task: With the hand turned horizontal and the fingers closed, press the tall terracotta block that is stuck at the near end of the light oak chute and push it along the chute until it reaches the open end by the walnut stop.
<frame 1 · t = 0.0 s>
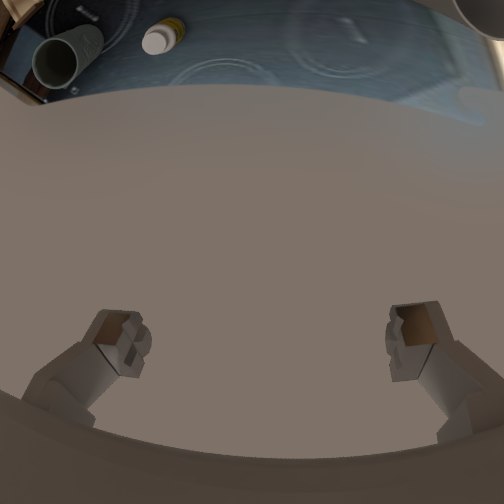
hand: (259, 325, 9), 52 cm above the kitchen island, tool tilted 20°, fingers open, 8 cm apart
supplement bottle: (171, 29, 43), on the kitchen island
green cup: (87, 41, 43), on the kitchen island
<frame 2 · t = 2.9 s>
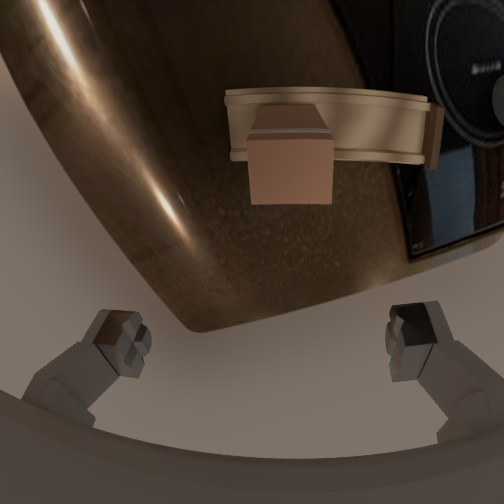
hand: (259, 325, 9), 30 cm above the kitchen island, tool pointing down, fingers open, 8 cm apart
chute: (330, 123, 34), on the kitchen island
block: (289, 143, 27), point 8 cm above the kitchen island, slide at 0.0 cm
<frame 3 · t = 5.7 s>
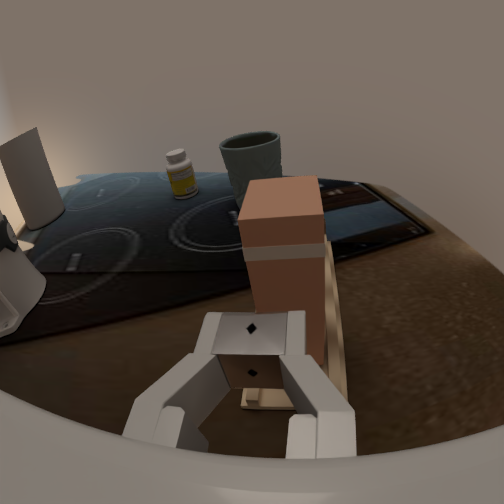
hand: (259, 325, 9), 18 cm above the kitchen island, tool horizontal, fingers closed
chute: (297, 309, 33), on the kitchen island
supplement bottle: (186, 195, 65), on the kitchen island
cylinder vase: (47, 219, 72), on the kitchen island
green cup: (259, 203, 56), on the kitchen island
block: (291, 281, 24), point 9 cm above the kitchen island, slide at 0.0 cm
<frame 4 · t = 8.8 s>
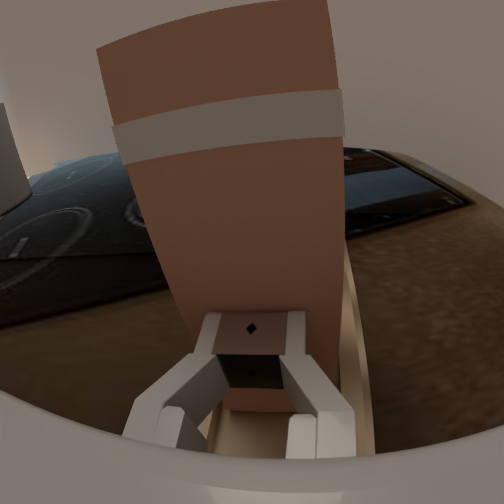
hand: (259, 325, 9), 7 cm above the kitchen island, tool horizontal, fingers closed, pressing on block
chute: (287, 310, 20), on the kitchen island
cylinder vase: (13, 205, 59), on the kitchen island
block: (264, 242, 11), point 8 cm above the kitchen island, slide at 0.2 cm, touching gripper
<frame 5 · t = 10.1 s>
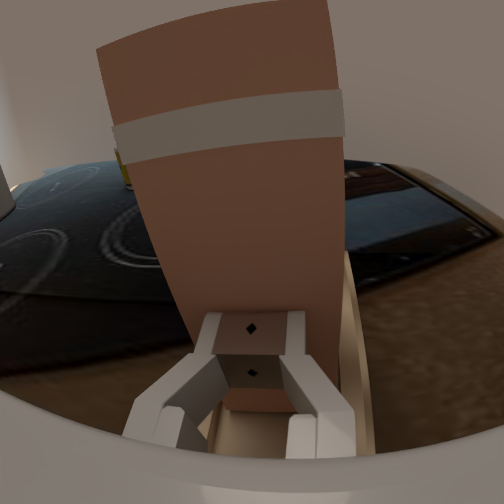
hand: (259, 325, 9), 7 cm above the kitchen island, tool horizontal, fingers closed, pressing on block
chute: (281, 400, 15), on the kitchen island
supplement bottle: (142, 184, 46), on the kitchen island
block: (264, 242, 11), point 9 cm above the kitchen island, slide at 6.9 cm, touching gripper
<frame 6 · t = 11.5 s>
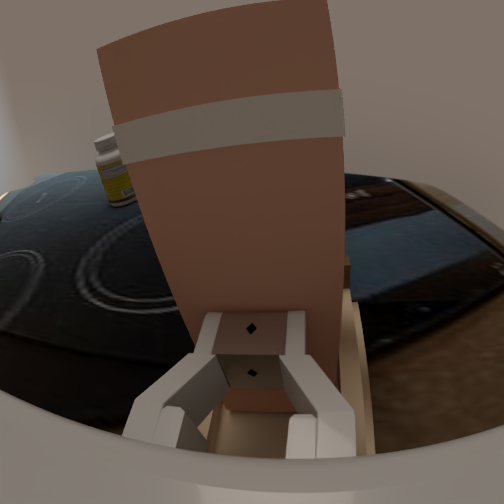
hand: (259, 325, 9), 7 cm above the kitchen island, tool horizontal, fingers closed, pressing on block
chute: (271, 501, 10), on the kitchen island
supplement bottle: (128, 200, 42), on the kitchen island
block: (264, 242, 11), point 9 cm above the kitchen island, slide at 12.4 cm, touching gripper
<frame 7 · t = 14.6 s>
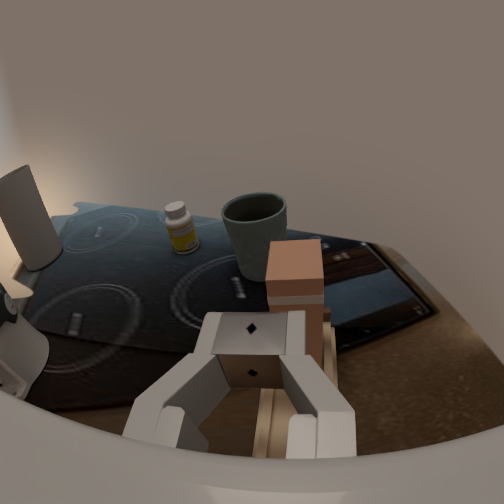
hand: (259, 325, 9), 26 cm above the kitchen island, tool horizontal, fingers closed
chute: (298, 408, 32), on the kitchen island
supplement bottle: (187, 248, 64), on the kitchen island
cylinder vase: (45, 258, 71), on the kitchen island
green cup: (262, 267, 55), on the kitchen island
block: (298, 313, 33), point 8 cm above the kitchen island, slide at 12.4 cm
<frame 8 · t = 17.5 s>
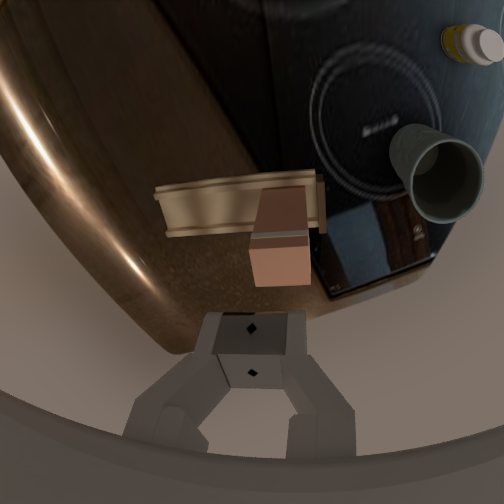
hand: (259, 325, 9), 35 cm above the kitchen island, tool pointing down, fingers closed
chute: (236, 203, 47), on the kitchen island
supplement bottle: (454, 43, 27), on the kitchen island
green cup: (414, 149, 38), on the kitchen island
block: (283, 229, 38), point 9 cm above the kitchen island, slide at 12.4 cm
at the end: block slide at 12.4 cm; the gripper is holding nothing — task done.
